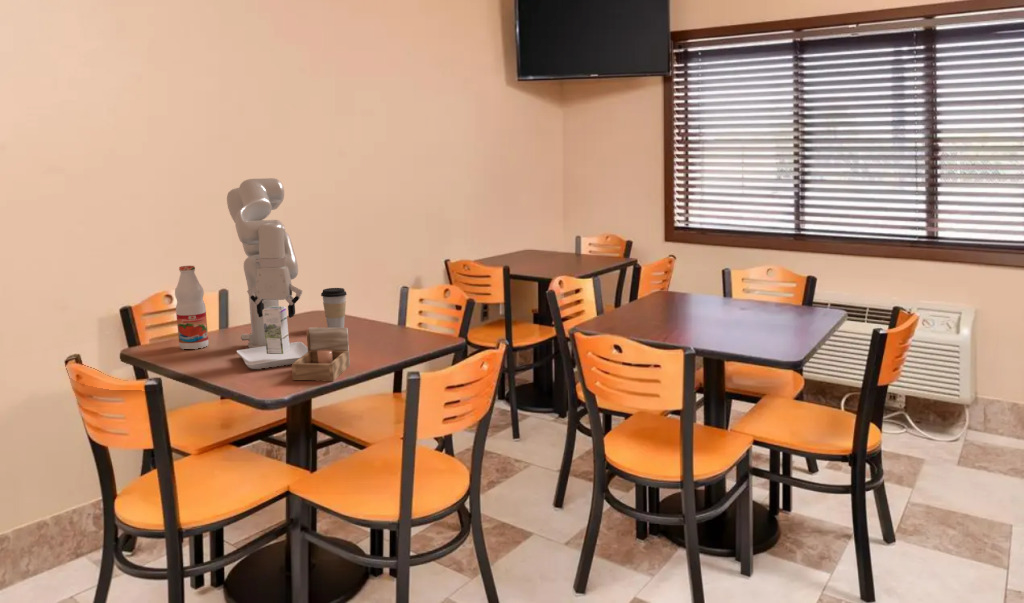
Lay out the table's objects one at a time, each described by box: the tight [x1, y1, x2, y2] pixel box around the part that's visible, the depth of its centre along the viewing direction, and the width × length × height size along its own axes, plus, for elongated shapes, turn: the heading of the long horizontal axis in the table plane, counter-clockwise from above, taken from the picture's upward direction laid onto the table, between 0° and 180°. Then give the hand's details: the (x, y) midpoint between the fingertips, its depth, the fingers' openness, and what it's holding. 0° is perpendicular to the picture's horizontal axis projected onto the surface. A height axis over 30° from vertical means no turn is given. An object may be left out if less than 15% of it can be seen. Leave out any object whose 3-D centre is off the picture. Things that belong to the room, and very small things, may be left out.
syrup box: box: [262, 305, 290, 354], centre depth 245 cm, size 6×6×14 cm
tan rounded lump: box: [317, 349, 333, 364], centre depth 235 cm, size 4×4×6 cm
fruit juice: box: [174, 265, 210, 350], centre depth 264 cm, size 9×9×28 cm
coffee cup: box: [320, 287, 347, 328], centre depth 291 cm, size 9×9×15 cm
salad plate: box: [236, 341, 308, 370], centre depth 248 cm, size 21×21×3 cm
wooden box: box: [291, 327, 351, 382], centre depth 231 cm, size 17×12×12 cm
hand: (276, 316), depth 245 cm, fingers open, 9 cm apart
